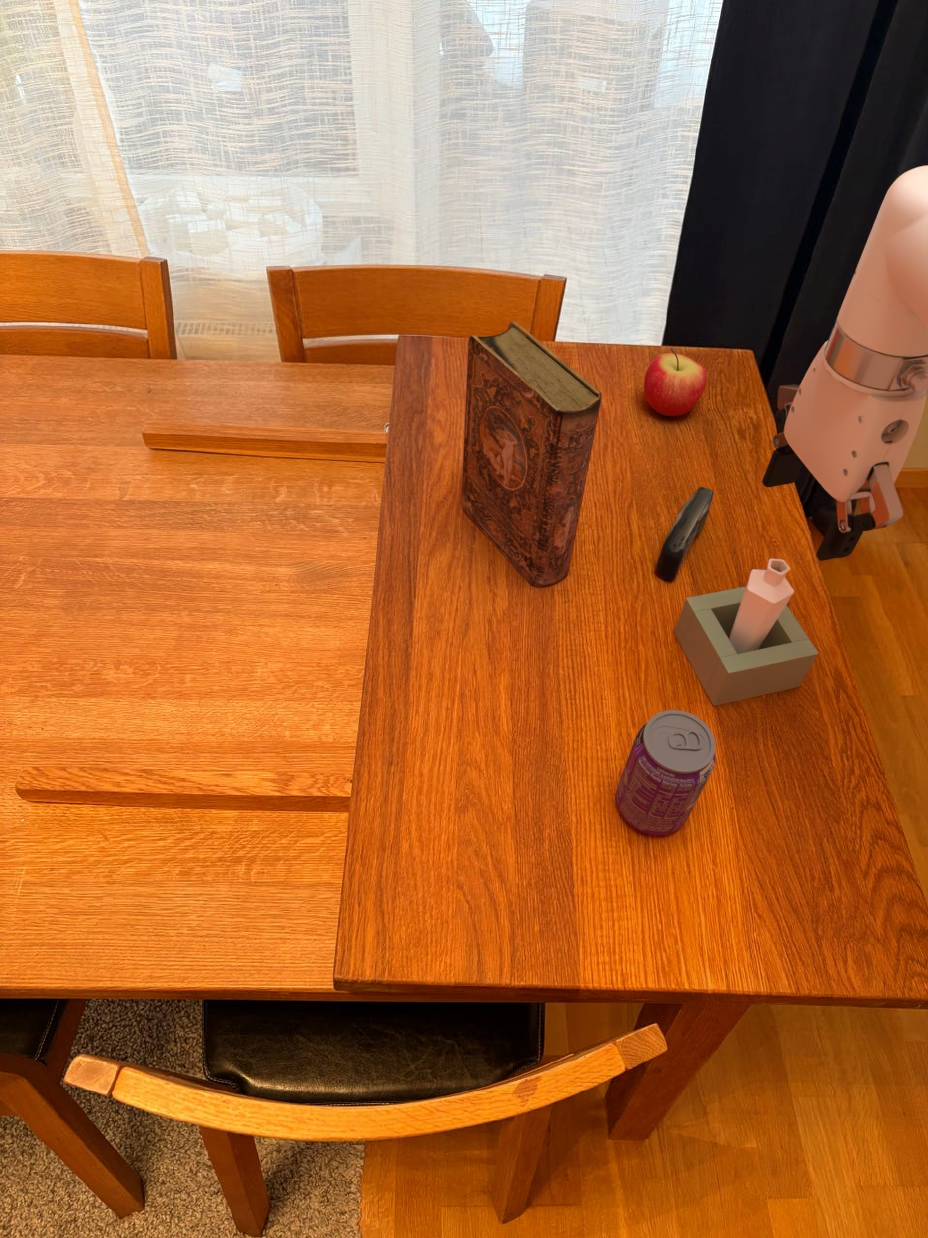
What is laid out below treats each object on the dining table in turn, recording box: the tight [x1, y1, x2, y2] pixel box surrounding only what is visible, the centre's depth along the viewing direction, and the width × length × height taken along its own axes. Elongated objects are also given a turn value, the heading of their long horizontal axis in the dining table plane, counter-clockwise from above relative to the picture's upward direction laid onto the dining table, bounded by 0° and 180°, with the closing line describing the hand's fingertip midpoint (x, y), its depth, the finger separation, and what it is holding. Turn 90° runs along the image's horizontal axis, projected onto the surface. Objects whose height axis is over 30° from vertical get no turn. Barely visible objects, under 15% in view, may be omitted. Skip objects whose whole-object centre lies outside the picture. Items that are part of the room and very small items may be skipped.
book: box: [461, 320, 603, 589], centre depth 95 cm, size 16×6×25 cm, turn 33°
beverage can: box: [615, 709, 717, 836], centre depth 78 cm, size 7×7×12 cm
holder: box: [673, 585, 820, 707], centre depth 92 cm, size 10×10×6 cm
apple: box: [643, 347, 708, 417], centre depth 118 cm, size 8×8×10 cm
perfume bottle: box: [728, 558, 795, 654], centre depth 88 cm, size 5×4×15 cm
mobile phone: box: [655, 486, 714, 582], centre depth 103 cm, size 5×3×15 cm
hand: (804, 518), depth 77 cm, fingers open, 9 cm apart
